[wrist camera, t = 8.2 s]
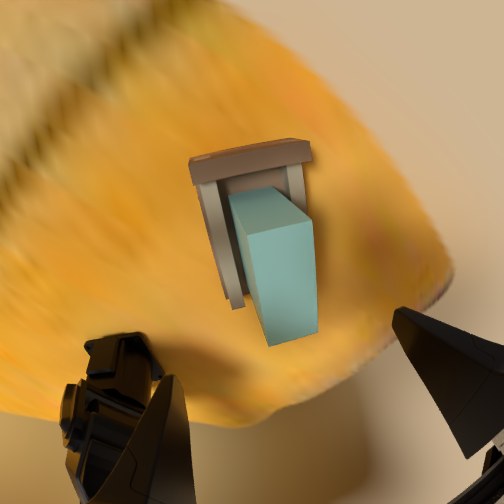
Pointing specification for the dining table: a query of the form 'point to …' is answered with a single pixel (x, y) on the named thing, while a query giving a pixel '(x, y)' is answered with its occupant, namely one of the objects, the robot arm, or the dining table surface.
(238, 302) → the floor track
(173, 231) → the dining table surface
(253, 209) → the pale teal rectangular prism
